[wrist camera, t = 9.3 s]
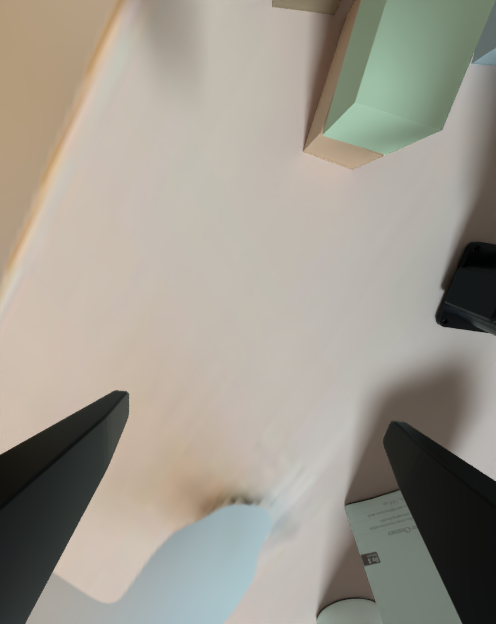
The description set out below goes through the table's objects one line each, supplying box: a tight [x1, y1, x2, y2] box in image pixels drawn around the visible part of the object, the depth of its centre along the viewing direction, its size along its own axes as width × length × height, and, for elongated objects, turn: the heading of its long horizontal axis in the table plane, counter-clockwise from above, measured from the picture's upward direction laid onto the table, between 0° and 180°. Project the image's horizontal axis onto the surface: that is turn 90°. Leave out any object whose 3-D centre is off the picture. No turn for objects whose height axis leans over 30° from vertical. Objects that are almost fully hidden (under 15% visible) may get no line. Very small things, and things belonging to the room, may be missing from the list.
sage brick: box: [322, 0, 495, 155], centre depth 10 cm, size 7×4×4 cm, turn 166°
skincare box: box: [345, 490, 462, 624], centre depth 21 cm, size 8×6×15 cm
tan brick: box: [303, 0, 384, 170], centre depth 14 cm, size 7×4×4 cm, turn 163°
